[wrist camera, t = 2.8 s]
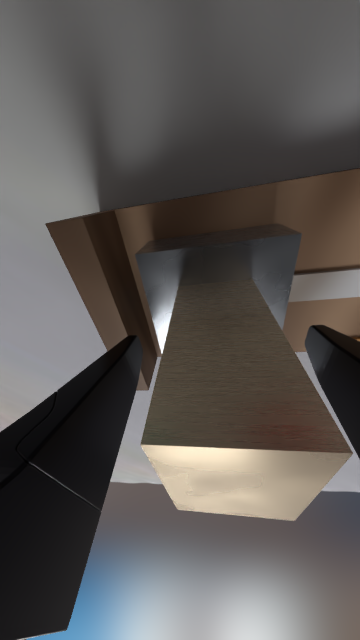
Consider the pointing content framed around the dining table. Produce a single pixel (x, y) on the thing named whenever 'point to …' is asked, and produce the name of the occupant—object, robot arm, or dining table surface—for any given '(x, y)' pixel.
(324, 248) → the base
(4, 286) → the dining table surface
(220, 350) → the handle
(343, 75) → the dining table surface
